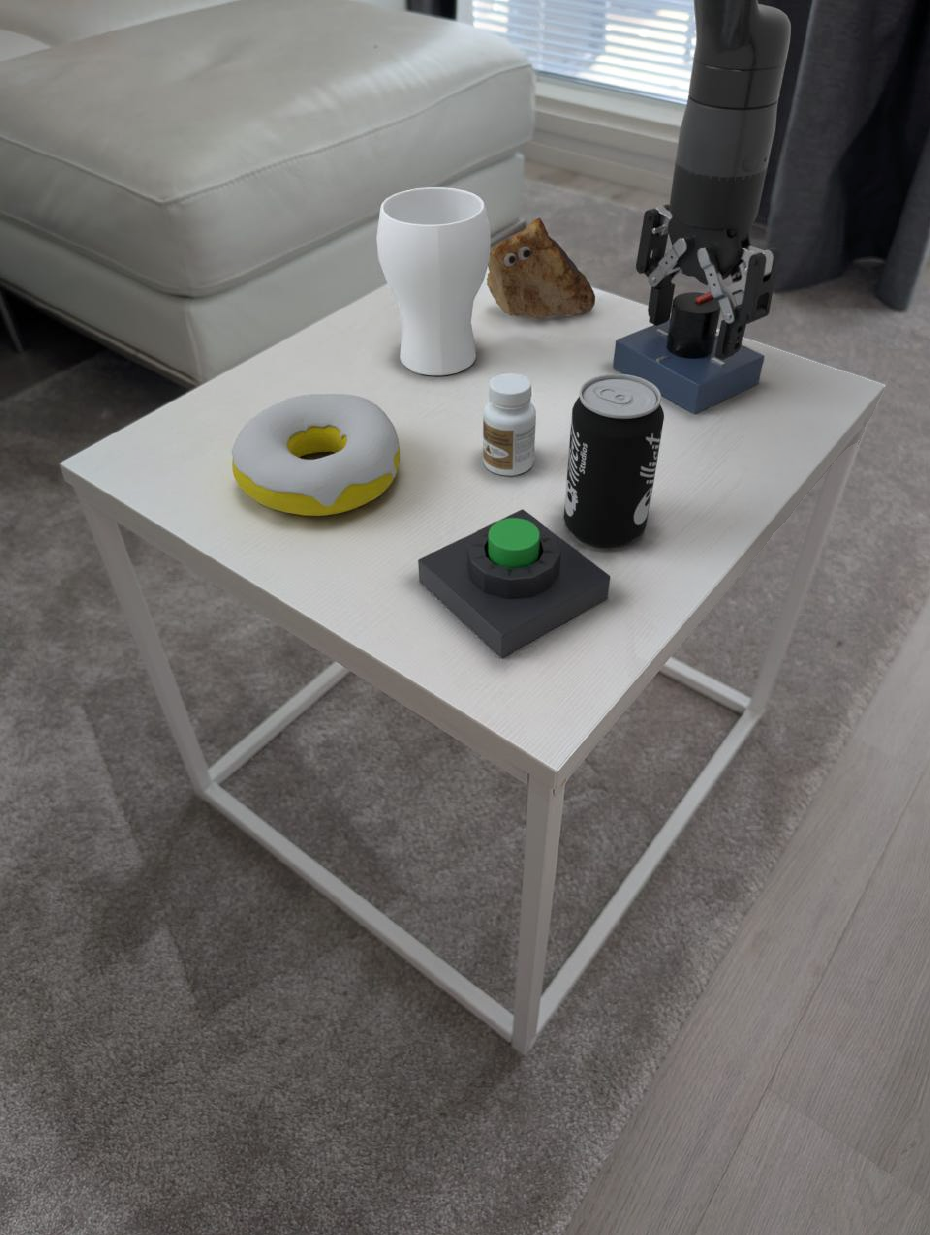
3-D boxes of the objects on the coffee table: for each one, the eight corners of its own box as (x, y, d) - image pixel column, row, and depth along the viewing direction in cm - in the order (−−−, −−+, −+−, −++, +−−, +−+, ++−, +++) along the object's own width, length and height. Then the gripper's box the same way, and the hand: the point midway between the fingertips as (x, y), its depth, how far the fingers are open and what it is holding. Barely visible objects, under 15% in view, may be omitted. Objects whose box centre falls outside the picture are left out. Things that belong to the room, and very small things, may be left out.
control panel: (612, 367, 91) (615, 338, 89) (675, 341, 94) (680, 312, 92) (694, 414, 84) (699, 384, 82) (758, 383, 88) (765, 354, 86)
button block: (522, 530, 72) (523, 489, 70) (608, 598, 67) (613, 557, 64) (418, 581, 68) (416, 540, 65) (501, 658, 62) (502, 617, 60)
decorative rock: (492, 333, 96) (493, 230, 89) (477, 308, 100) (477, 208, 93) (599, 318, 98) (608, 216, 91) (580, 294, 102) (587, 195, 95)
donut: (327, 416, 85) (320, 367, 81) (436, 470, 78) (434, 420, 75) (207, 484, 77) (194, 434, 74) (317, 551, 71) (308, 499, 67)
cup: (496, 335, 96) (497, 186, 85) (482, 387, 88) (483, 231, 78) (397, 329, 97) (387, 182, 87) (376, 380, 90) (362, 225, 79)
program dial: (692, 363, 85) (701, 314, 82) (656, 346, 87) (663, 298, 84) (722, 348, 87) (732, 300, 84) (686, 331, 90) (694, 284, 86)
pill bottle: (472, 461, 79) (472, 381, 74) (510, 442, 81) (512, 364, 76) (506, 483, 77) (508, 403, 72) (544, 464, 79) (548, 384, 74)
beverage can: (618, 564, 69) (638, 429, 61) (547, 532, 72) (555, 398, 64) (660, 521, 73) (683, 388, 65) (590, 492, 76) (604, 361, 68)
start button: (517, 530, 67) (518, 511, 66) (549, 555, 65) (550, 536, 63) (478, 549, 65) (478, 530, 64) (509, 576, 63) (510, 557, 62)
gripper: (821, 171, 73) (775, 356, 84) (691, 127, 81) (665, 301, 92) (758, 192, 70) (719, 381, 81) (629, 144, 78) (610, 322, 89)
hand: (690, 338), depth 87 cm, fingers open, 8 cm apart
